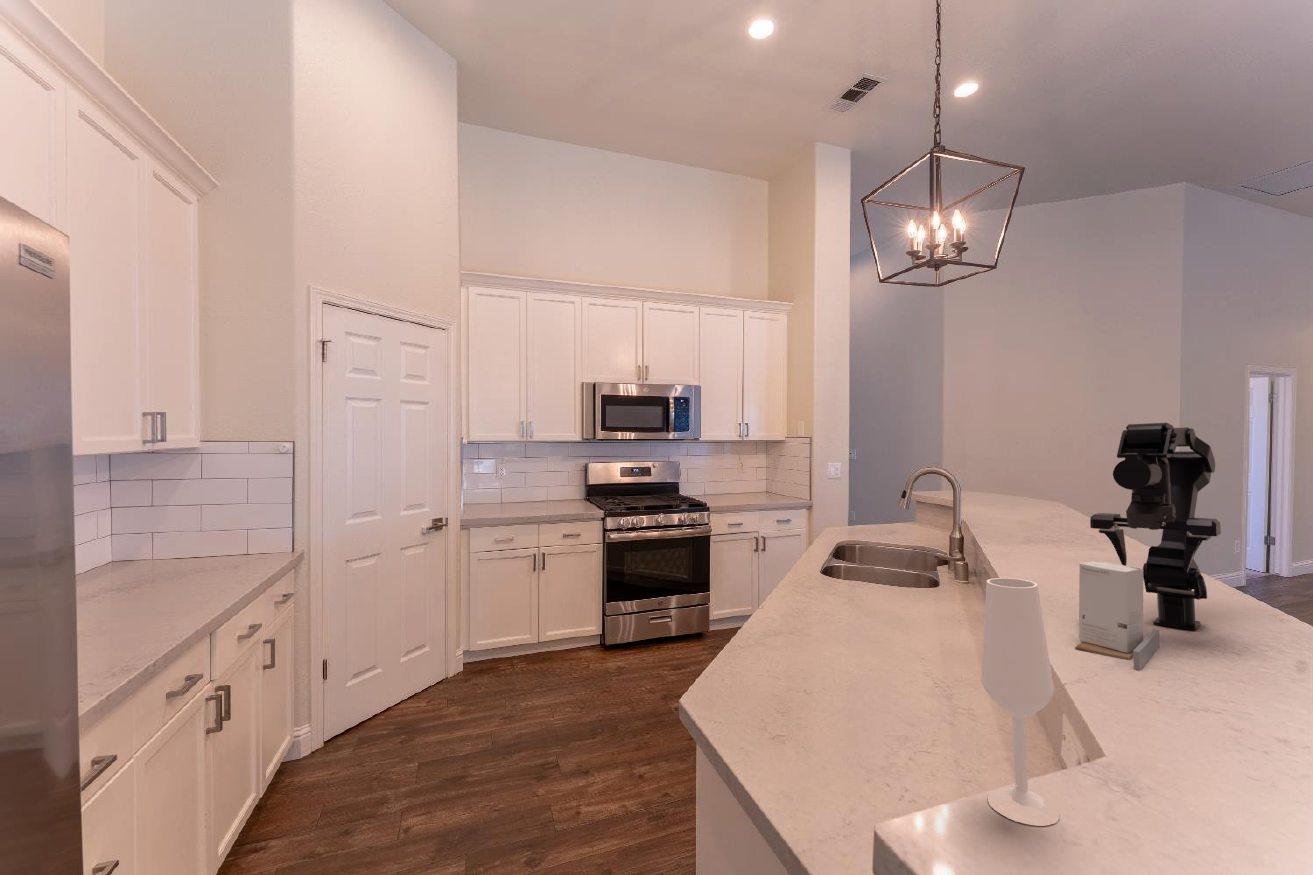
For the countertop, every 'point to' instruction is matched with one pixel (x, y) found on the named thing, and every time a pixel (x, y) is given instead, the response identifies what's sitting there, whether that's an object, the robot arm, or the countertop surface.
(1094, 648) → the walnut board
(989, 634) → the champagne flute
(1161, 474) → the robot arm
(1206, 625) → the countertop surface
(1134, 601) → the skincare box
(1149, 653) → the low wall
